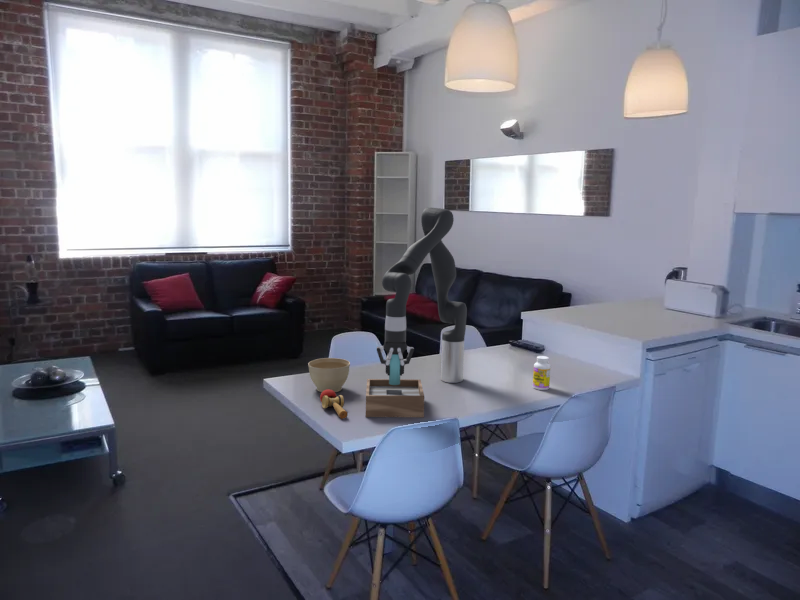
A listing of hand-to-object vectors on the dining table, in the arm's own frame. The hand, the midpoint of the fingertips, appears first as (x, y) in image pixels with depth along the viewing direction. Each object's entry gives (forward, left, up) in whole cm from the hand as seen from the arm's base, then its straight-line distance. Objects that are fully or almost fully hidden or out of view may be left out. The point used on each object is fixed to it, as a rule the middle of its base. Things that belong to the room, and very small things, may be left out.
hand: (394, 374), depth 215 cm
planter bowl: (-18, -25, -12) cm, 33 cm away
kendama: (+6, -21, -12) cm, 25 cm away
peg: (0, 0, -3) cm, 3 cm away
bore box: (+2, 0, -12) cm, 12 cm away
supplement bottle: (-23, +60, -12) cm, 65 cm away
